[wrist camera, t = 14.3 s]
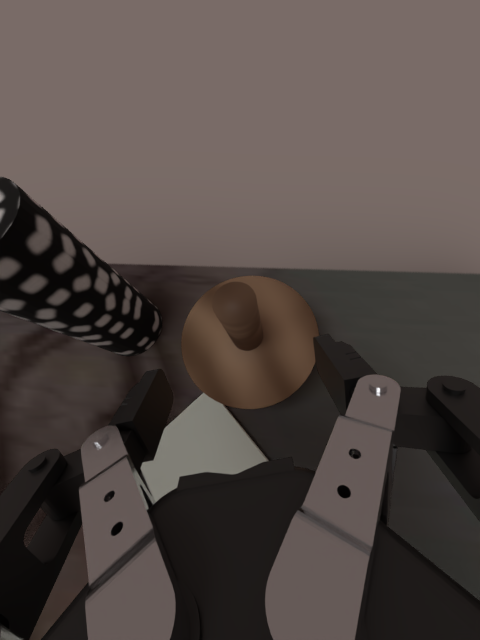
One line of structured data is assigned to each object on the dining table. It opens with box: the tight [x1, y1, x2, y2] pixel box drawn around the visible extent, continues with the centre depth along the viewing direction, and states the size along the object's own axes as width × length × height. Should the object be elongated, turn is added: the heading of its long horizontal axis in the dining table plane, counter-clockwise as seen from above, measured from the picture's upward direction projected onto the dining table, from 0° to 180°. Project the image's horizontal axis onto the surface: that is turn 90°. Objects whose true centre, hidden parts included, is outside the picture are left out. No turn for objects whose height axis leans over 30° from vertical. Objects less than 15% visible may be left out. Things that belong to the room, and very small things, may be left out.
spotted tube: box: [0, 177, 162, 356], centre depth 24 cm, size 8×8×20 cm
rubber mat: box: [141, 393, 269, 502], centre depth 25 cm, size 16×16×1 cm
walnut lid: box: [181, 276, 319, 409], centre depth 21 cm, size 14×14×9 cm
